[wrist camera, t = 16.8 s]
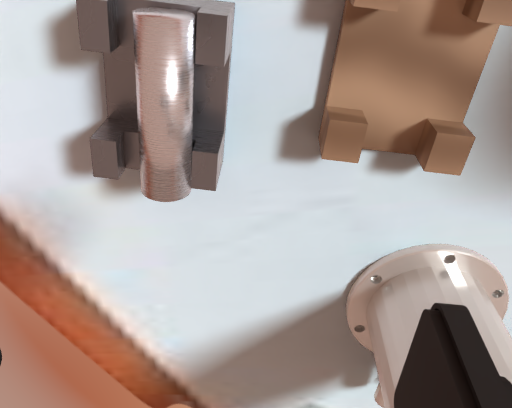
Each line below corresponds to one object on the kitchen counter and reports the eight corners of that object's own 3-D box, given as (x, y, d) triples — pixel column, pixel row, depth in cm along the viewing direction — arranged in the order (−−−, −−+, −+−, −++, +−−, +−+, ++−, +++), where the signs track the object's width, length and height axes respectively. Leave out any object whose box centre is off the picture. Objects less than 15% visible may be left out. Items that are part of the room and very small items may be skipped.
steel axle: (185, 174, 29) (195, 199, 27) (137, 178, 28) (144, 204, 26) (188, 8, 24) (201, 21, 21) (129, 5, 23) (136, 18, 20)
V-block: (222, 160, 31) (215, 190, 27) (114, 147, 31) (93, 176, 27) (234, 3, 25) (227, 16, 22) (103, -14, 25) (75, -3, 22)
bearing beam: (445, 153, 30) (460, 175, 27) (318, 138, 29) (321, 158, 27) (514, -35, 24) (542, -29, 21) (356, -55, 24) (365, -52, 21)
